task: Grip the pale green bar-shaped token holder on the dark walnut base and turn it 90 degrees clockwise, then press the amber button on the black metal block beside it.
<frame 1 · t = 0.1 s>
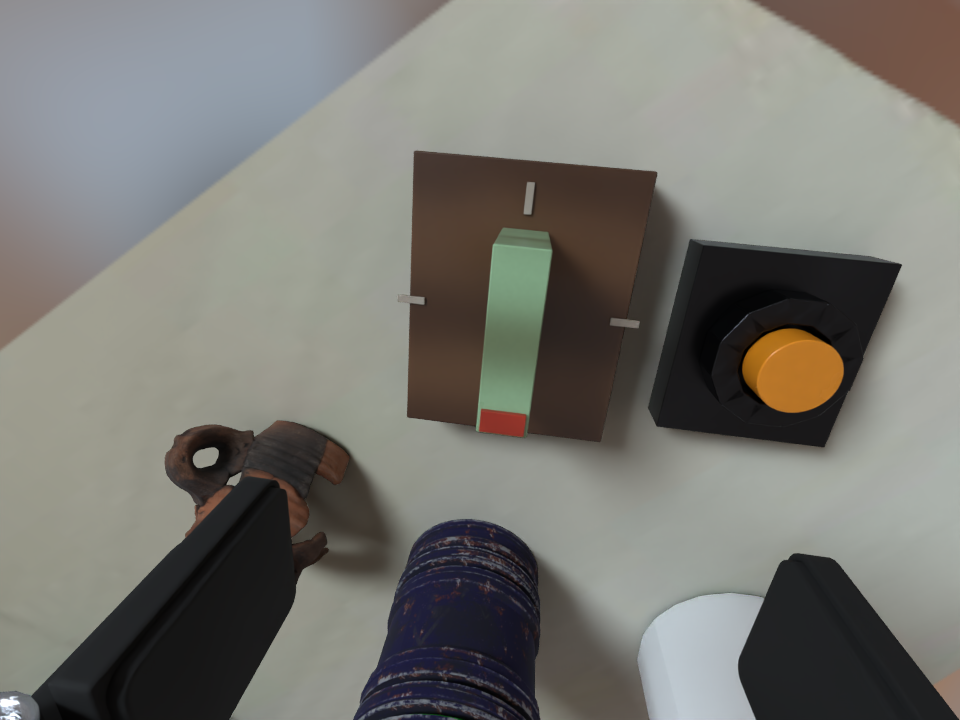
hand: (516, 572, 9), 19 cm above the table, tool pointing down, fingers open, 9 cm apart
holder: (513, 328, 21), point 6 cm above the table, hinge at 0.0°
can: (720, 647, 35), on the table
pottery mug: (284, 465, 33), on the table
storage jar: (472, 569, 35), on the table
button block: (749, 338, 26), on the table
button: (790, 370, 22), point 4 cm above the table, slide at 0.1 cm
holder base: (518, 296, 26), on the table
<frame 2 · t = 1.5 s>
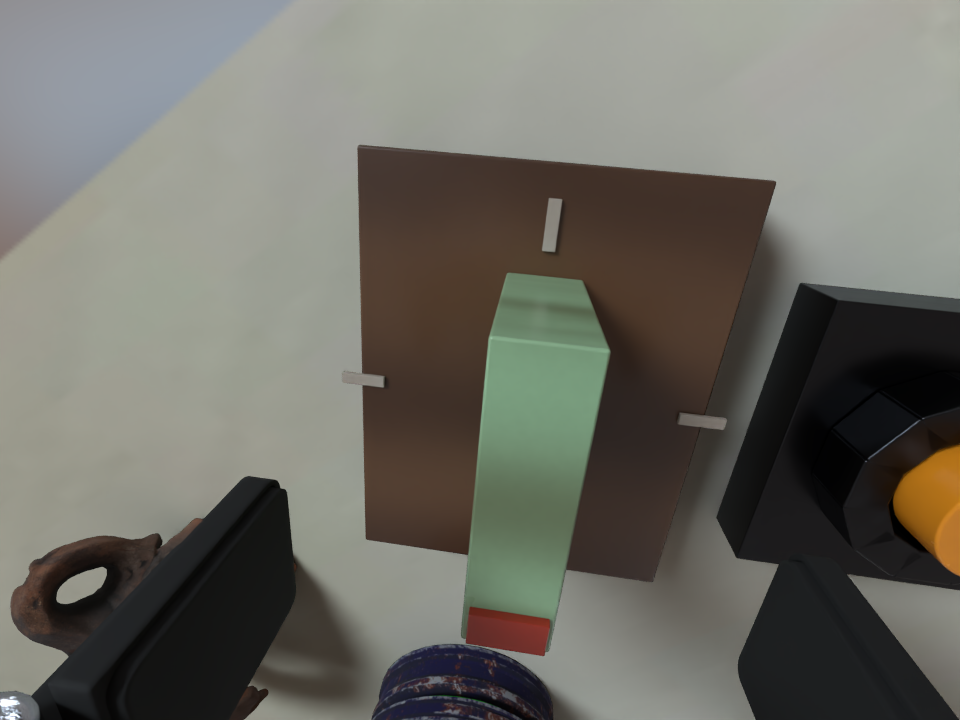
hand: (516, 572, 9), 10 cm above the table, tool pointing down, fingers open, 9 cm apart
holder: (526, 449, 12), point 6 cm above the table, hinge at 0.0°
pottery mug: (211, 570, 24), on the table
storage jar: (466, 700, 26), on the table
button block: (879, 428, 17), on the table
holder base: (529, 362, 18), on the table
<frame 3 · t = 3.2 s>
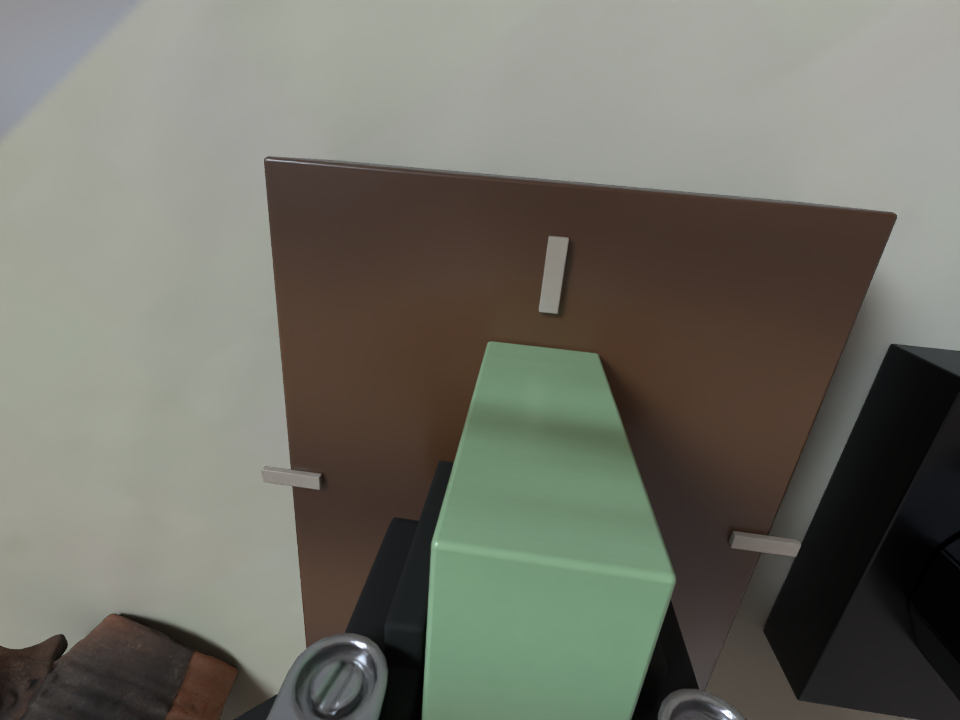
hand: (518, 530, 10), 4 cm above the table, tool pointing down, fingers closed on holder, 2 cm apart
holder: (514, 619, 8), point 6 cm above the table, hinge at 0.0°, touching gripper
pottery mug: (137, 670, 20), on the table
holder base: (523, 438, 14), on the table
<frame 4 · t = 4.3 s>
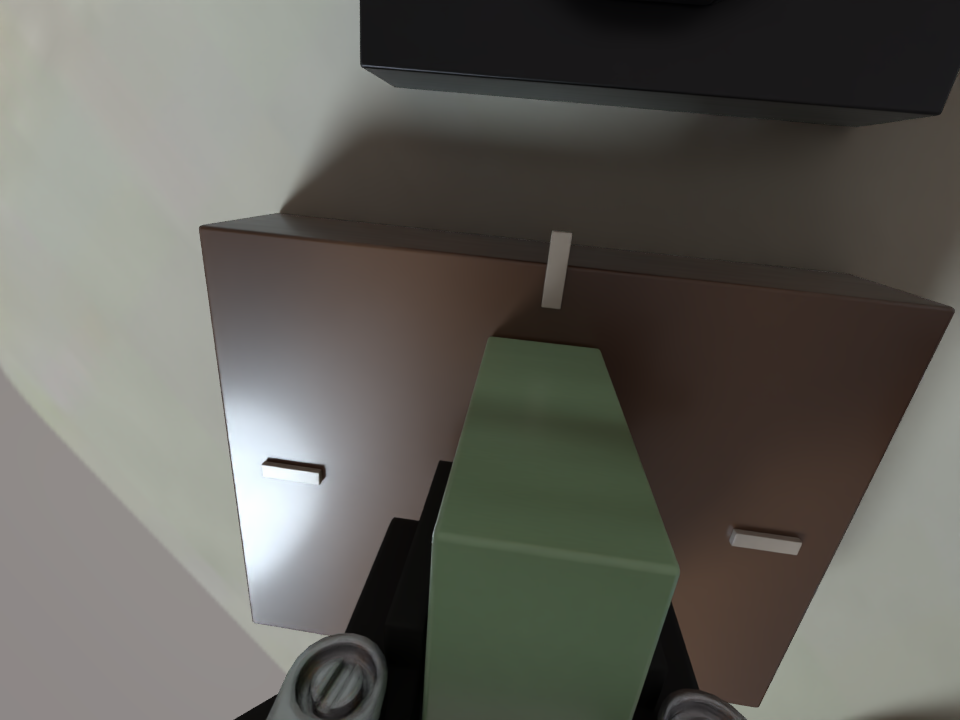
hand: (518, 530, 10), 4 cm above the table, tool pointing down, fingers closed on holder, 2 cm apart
holder: (515, 615, 8), point 6 cm above the table, hinge at -89.7°, touching gripper
holder base: (523, 435, 13), on the table
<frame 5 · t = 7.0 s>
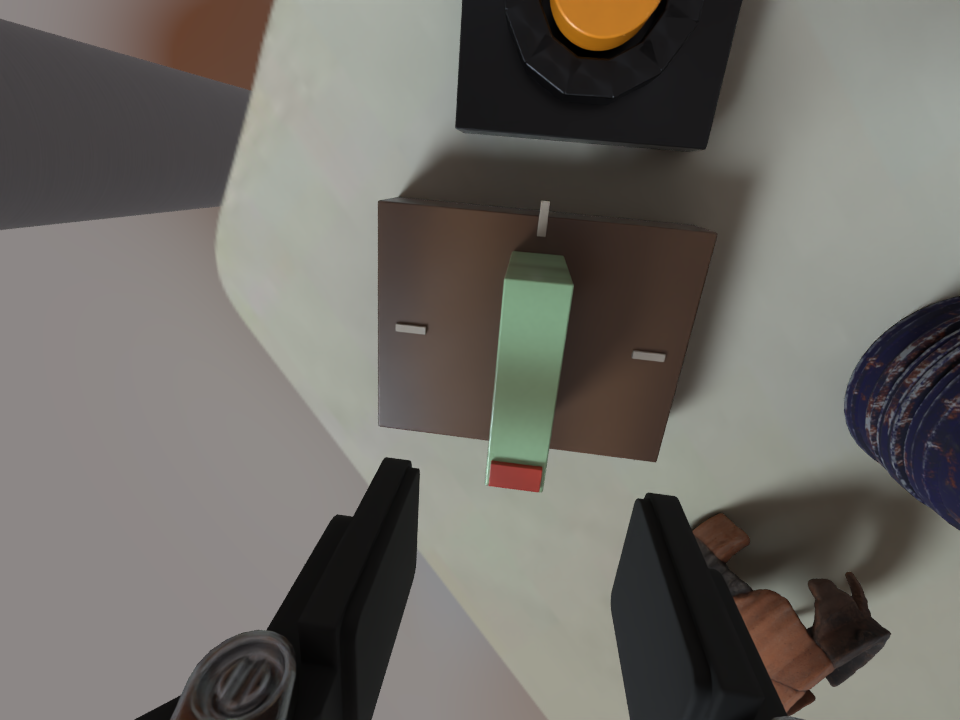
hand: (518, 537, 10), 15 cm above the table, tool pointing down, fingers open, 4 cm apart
holder: (526, 366, 19), point 6 cm above the table, hinge at -89.5°
pottery mug: (724, 576, 29), on the table
storage jar: (949, 387, 23), on the table
button block: (591, 20, 19), on the table
holder base: (528, 322, 24), on the table
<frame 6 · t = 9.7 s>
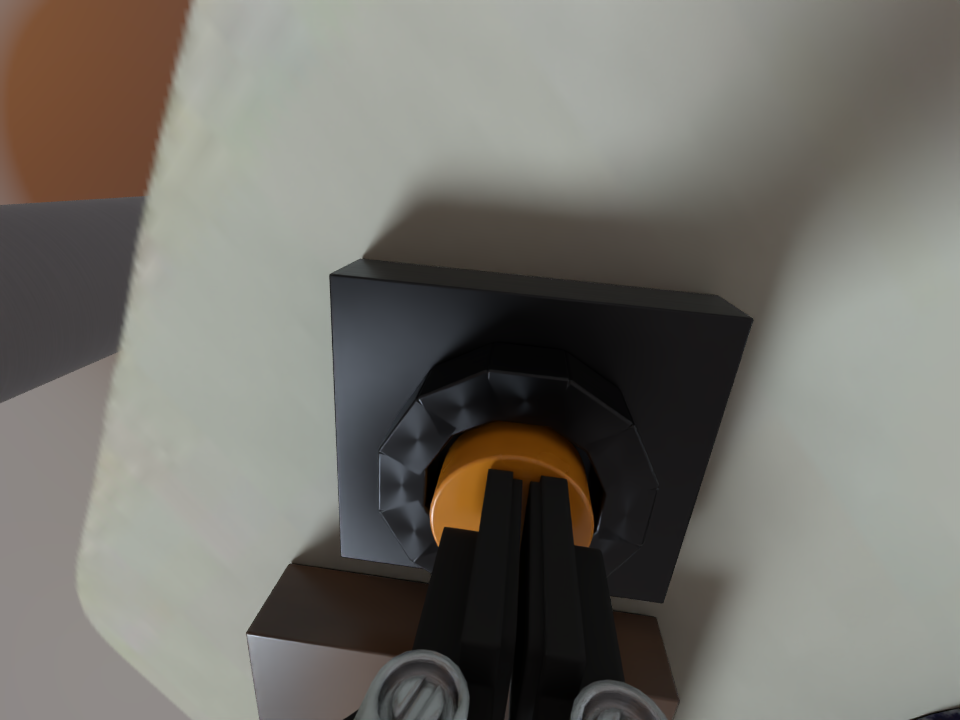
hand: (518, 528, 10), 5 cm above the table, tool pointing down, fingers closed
button block: (516, 417, 15), on the table
button: (511, 501, 11), point 4 cm above the table, slide at -0.4 cm, touching gripper
holder base: (458, 684, 20), on the table
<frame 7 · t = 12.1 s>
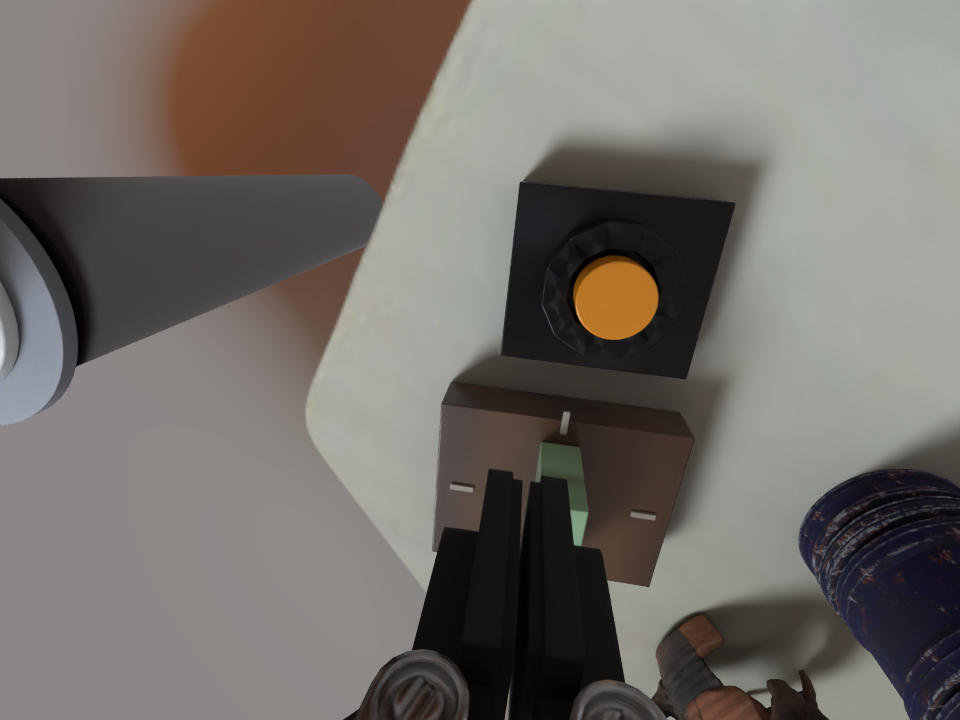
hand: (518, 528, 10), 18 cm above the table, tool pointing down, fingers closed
holder: (551, 535, 25), point 6 cm above the table, hinge at -89.5°
pottery mug: (706, 660, 35), on the table
storage jar: (880, 531, 29), on the table
button block: (602, 277, 26), on the table
button: (613, 297, 22), point 4 cm above the table, slide at 0.1 cm
holder base: (550, 470, 31), on the table
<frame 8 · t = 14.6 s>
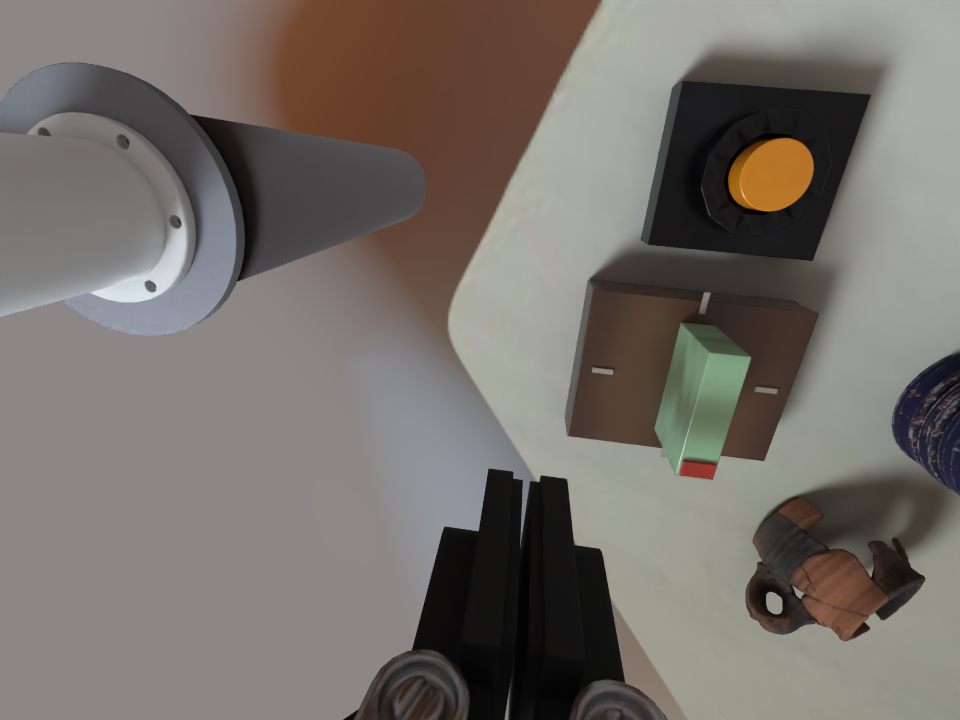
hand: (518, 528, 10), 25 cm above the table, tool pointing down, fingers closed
holder: (696, 399, 29), point 6 cm above the table, hinge at -89.5°
pottery mug: (797, 545, 39), on the table
button block: (736, 175, 29), on the table
button: (769, 175, 25), point 4 cm above the table, slide at 0.1 cm
holder base: (671, 363, 34), on the table
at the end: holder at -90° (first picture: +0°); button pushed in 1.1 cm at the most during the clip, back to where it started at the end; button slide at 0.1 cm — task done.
